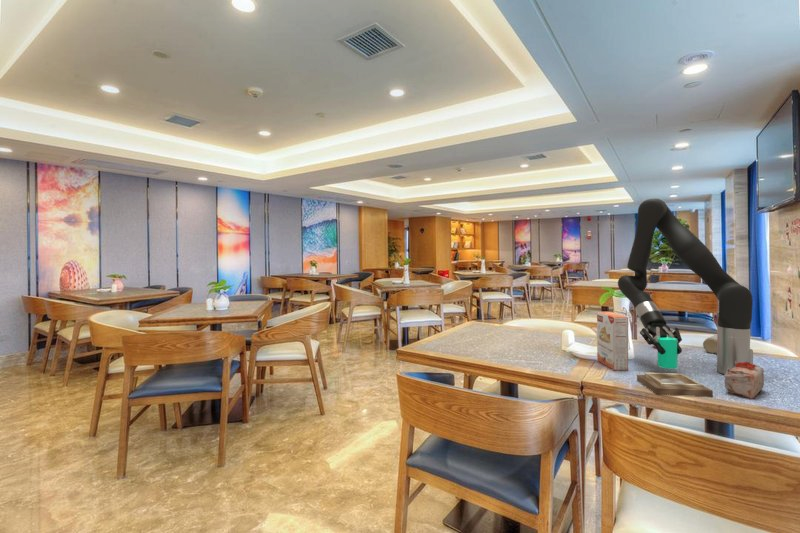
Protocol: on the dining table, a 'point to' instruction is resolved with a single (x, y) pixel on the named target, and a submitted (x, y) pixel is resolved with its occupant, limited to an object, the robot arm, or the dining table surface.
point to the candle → (668, 353)
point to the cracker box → (612, 340)
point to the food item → (744, 379)
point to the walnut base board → (673, 384)
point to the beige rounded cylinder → (711, 344)
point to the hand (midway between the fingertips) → (671, 353)
